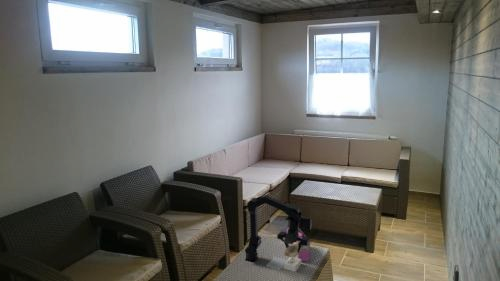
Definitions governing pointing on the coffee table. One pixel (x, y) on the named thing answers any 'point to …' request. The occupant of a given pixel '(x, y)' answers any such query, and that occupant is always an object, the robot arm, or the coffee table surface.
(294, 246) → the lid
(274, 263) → the mat
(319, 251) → the coffee table surface
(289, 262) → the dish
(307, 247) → the gum box
